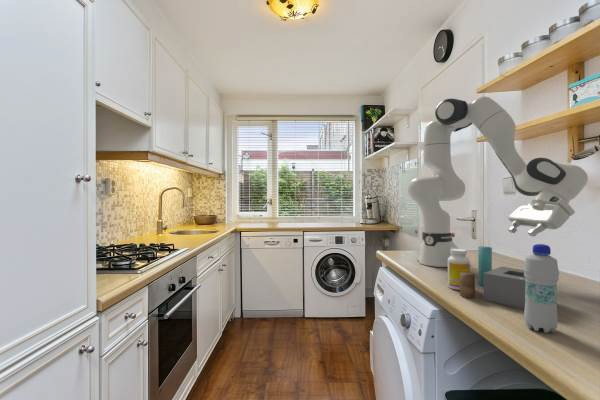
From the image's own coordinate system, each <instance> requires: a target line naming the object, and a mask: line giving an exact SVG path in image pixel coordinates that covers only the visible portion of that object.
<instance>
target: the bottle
mask: <svg viewBox="0 0 600 400" xmlns="http://www.w3.org/2000/svg"><path fill="white" fill-rule="evenodd" d="M551 251H552V250H551V247H550V245H548V244H543V243H539V244H538V243H537V244H534V245H533V246H532V254H529V255H527V256H526V257H525V261H524V266H523V269H522V270H524V276H525V278H526V281H525V310H524V309H523V310H524V311H523V313H524V314H523V316H524V322H525V325H526V327H527V328H528V329H531V330H532V329H533V330H534V331H535V332H539V331H540V329H543V332H544V334H546V333H547V334H548V333H554V332H555V331H556V330H557V327H558V323H559V321H558V308H557V303H558V301H557V299H558V298H557V296H558V292H557V290H558V287H557V286H558V285H557V284H558V281H559V280H560V278H559V275H560V270H559V265H558V264H559V263H558V260H557V258H555V257H553V256H552V255H551V253H552V252H551Z"/></svg>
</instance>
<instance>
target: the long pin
mask: <svg viewBox="0 0 600 400" xmlns="http://www.w3.org/2000/svg"><path fill="white" fill-rule="evenodd" d="M477 250H478V263H477V264H478V266H477V267H478V273H477V277H478V278H477V279H478V280H477V281H478V286H481V287H484V273H485V272H488V271H491V270H493V267H492V265H493V263H492V261H493V247H490V246H478V249H477Z"/></svg>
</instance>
